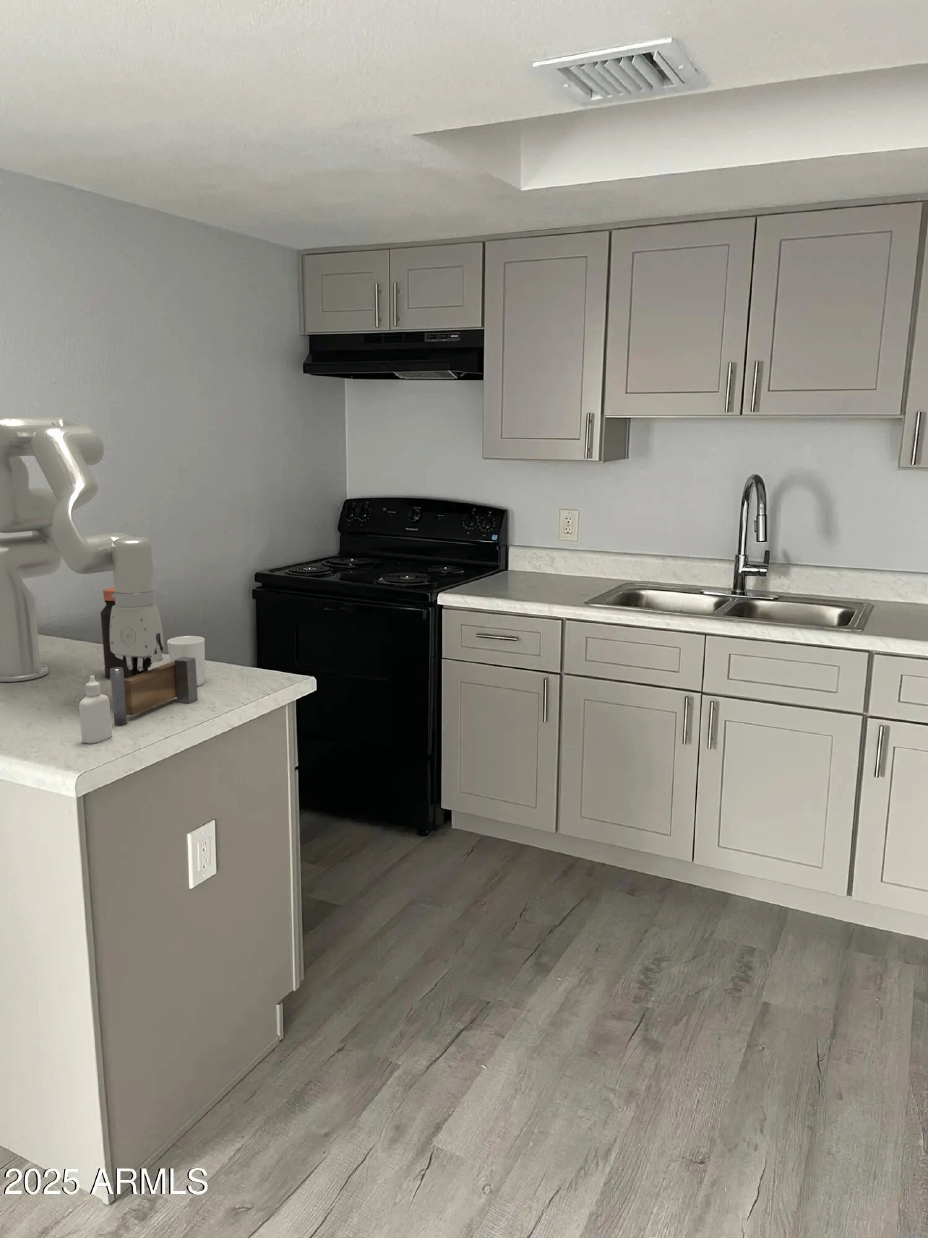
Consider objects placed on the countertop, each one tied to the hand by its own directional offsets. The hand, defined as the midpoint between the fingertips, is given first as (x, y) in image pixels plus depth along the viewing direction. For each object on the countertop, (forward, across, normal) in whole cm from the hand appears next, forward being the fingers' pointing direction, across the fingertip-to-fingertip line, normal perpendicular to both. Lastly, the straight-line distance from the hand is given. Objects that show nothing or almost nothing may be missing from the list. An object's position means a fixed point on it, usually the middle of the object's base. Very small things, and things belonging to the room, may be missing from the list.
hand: (140, 687), depth 196 cm
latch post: (+4, +6, +7) cm, 10 cm away
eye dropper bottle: (+4, +6, -20) cm, 21 cm away
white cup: (+4, -2, +18) cm, 19 cm away
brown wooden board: (+3, +4, 0) cm, 5 cm away
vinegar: (+4, -20, +19) cm, 28 cm away
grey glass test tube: (+4, +4, -11) cm, 12 cm away
